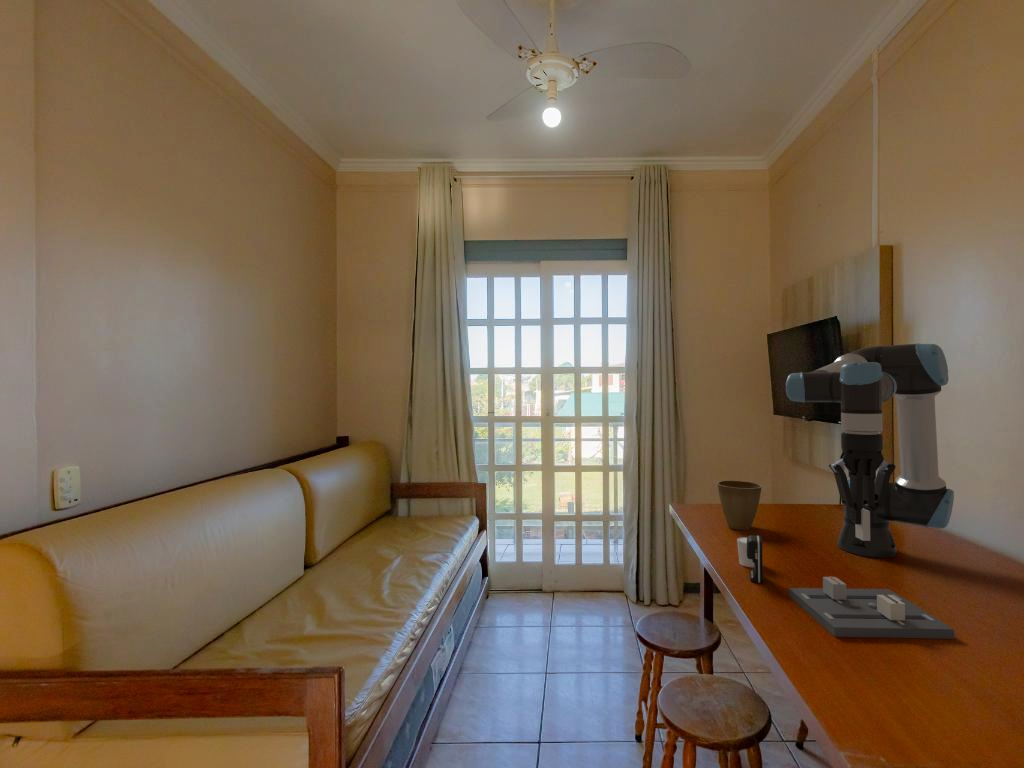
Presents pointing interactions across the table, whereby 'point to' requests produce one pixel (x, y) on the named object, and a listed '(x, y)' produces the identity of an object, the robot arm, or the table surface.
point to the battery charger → (755, 557)
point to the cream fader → (891, 607)
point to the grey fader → (834, 588)
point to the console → (867, 615)
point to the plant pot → (739, 502)
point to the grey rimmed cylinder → (743, 552)
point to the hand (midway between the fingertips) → (862, 538)
